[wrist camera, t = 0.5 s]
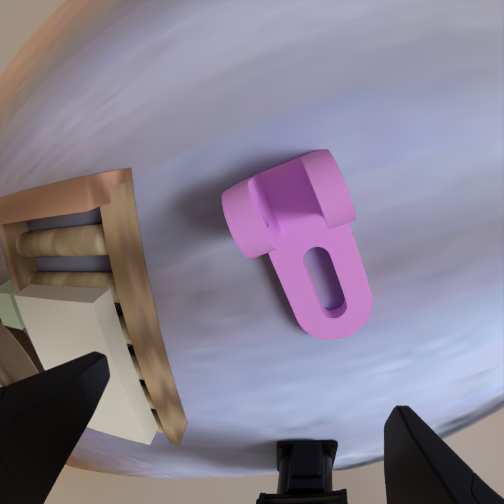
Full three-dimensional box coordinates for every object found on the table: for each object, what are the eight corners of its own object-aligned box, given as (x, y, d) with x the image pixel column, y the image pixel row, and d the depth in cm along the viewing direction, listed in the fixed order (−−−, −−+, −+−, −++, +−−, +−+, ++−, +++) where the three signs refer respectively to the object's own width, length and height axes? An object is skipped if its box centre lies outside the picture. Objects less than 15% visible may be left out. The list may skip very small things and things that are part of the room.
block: (44, 312, 27) (22, 329, 23) (24, 308, 28) (3, 325, 24) (33, 277, 26) (9, 293, 22) (14, 277, 26) (-10, 291, 23)
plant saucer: (40, 409, 36) (30, 420, 33) (-26, 326, 33) (-38, 334, 30) (81, 386, 30) (69, 401, 28) (-5, 273, 27) (-22, 283, 24)
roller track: (188, 424, 29) (171, 466, 23) (85, 401, 31) (62, 432, 25) (130, 167, 21) (80, 177, 15) (16, 192, 23) (-29, 207, 17)
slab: (158, 427, 26) (150, 444, 24) (84, 408, 28) (74, 422, 26) (110, 288, 21) (92, 303, 19) (30, 284, 23) (13, 295, 21)
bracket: (240, 181, 20) (214, 197, 14) (319, 149, 19) (331, 149, 12) (308, 338, 23) (310, 401, 17) (375, 315, 22) (398, 374, 15)
